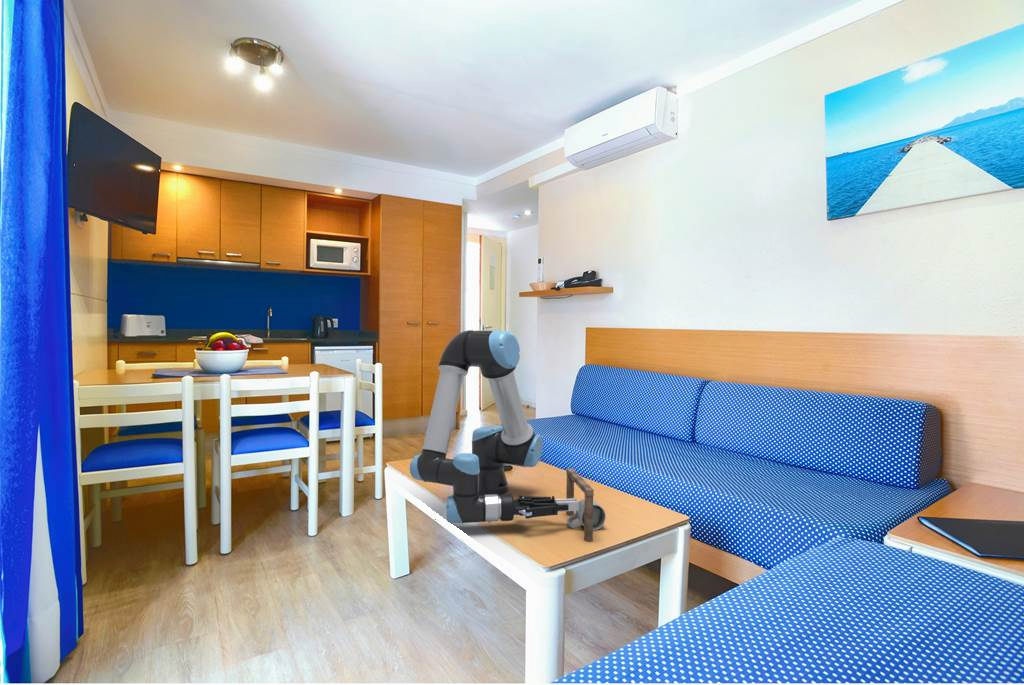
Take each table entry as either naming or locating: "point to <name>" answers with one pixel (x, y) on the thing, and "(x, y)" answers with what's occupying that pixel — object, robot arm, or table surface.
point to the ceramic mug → (598, 516)
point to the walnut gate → (588, 504)
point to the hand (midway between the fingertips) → (577, 504)
